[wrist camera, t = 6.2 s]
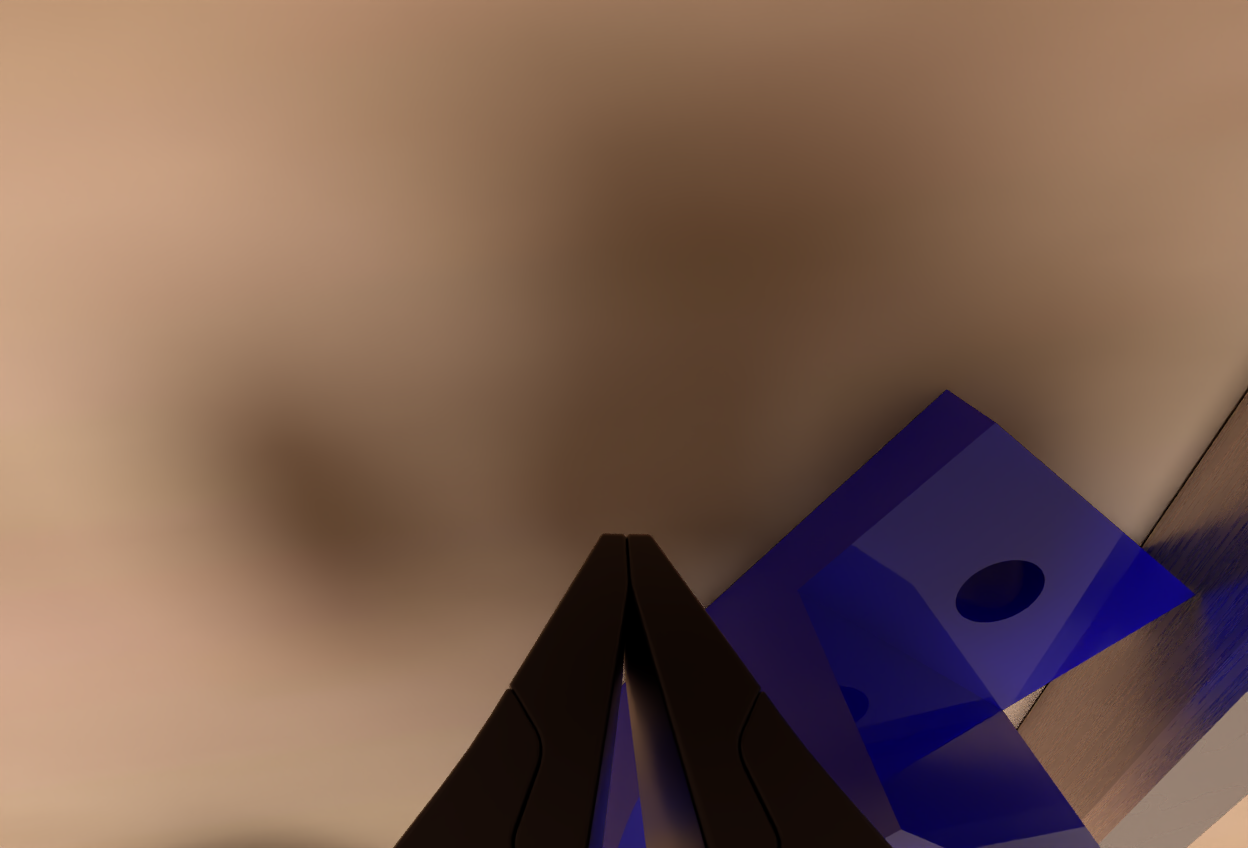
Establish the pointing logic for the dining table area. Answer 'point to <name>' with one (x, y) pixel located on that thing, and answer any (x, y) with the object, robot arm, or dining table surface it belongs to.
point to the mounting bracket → (931, 634)
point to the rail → (1165, 680)
